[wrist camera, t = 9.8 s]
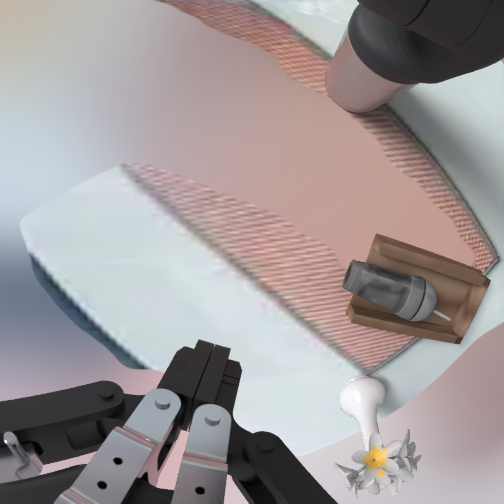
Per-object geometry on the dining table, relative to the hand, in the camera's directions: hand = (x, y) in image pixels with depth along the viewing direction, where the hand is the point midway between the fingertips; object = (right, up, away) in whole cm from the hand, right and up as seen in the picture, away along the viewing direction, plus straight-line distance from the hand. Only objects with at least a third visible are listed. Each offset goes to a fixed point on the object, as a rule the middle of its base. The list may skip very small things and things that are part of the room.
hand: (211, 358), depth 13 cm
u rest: (+31, -2, +31) cm, 43 cm away
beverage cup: (+16, +2, +29) cm, 33 cm away
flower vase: (+24, -22, +38) cm, 50 cm away
